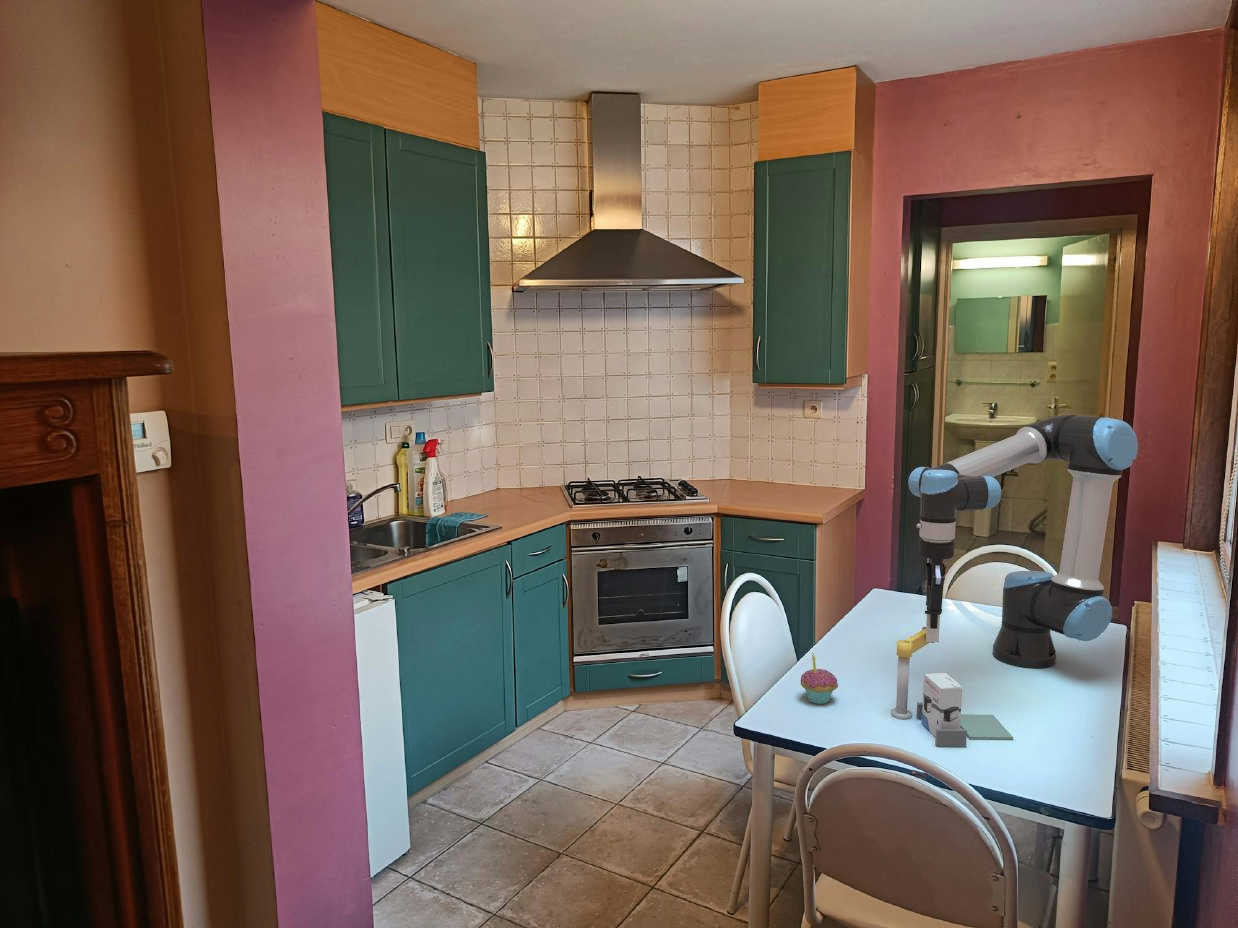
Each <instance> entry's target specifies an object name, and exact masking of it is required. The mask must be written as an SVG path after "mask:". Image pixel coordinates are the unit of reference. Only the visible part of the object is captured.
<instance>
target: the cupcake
mask: <svg viewBox="0 0 1238 928" xmlns="http://www.w3.org/2000/svg"><path fill="white" fill-rule="evenodd" d="M811 659H812V667H813V668H812V669H809V670H807V671H804V673H802V674H801V677H800V686H801V687H802V688H803V689H804V691H805V692H806V696H807V700H808V702H811V703H813V704H816V705H817V704H818V705H823V704H828V703H829V702H830V699H831V696H832V695H833V694H832V693H833V691H836V689H838V687H839V684H838V679H837V676H835V675H834V674H833V673H832V672H830V671H829V670H827V669H822V668H817V663H816V655H815V654H814V652H812V655H811Z"/></svg>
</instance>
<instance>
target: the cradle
mask: <svg viewBox="0 0 1238 928" xmlns="http://www.w3.org/2000/svg"><path fill="white" fill-rule="evenodd" d="M897 658H898V659H897V676H896V677H897V678H896V679H897V680H896V681H897V682H896V699H895V701H896V703H895V705H896V706H895V707H894V708H892V709H891V710H890V715H891V716H892V718H895V719H897V720H910V719H912V717H913V716H912V715H913V713H912V711H911V710H910V709H908V705H909V704H908V702H909V682H910V681H909V680H910V661H911V660H910V658H911V657H909V658H903V657H899V656H897ZM922 709H923V702H919V701H918V702H916V714H915V715H916V716H915V717H916V719H917V720H922ZM934 738H935V739H934V741H935V742H934V745H935V746H936V748H967V738H968V737H967V731H966V729H961V728H960V729H936V737H934Z"/></svg>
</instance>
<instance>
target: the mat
mask: <svg viewBox="0 0 1238 928" xmlns="http://www.w3.org/2000/svg"><path fill="white" fill-rule="evenodd" d="M960 729H966V731H967V738H968V739H969V740H971V741H972V740H975V741H977V740H981V741H983V740H984V741H985V740H986V741H988V740H989V741H990V740H991V741H992V740H993V741H1014V736H1013V735H1012V734H1011V733H1010V731H1008V729H1006V728H1005V726H1004V725H1003V724H1002V723H1001V722H1000V721H999V720H998V718H997V717H995V715H994V714H969V713H968V714H965V713H963V714H962V713H961V724H960Z"/></svg>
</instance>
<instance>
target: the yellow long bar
mask: <svg viewBox="0 0 1238 928" xmlns="http://www.w3.org/2000/svg"><path fill="white" fill-rule="evenodd" d="M930 643H932V644H934V643H935V642H928V641H926V626H923V627H922V628H921V630H920V631H918V632H916V633H915V634H913V635H911V636H908V637H907V638H906V639H900V640H897V641H896V656H897V657H898V656H899V657H903V658H909V657H910V658H911V657H912V655H913V654H914V653H915V652H917V651H918V650H920V649H922V648H924V647H925V646H927V645H929V644H930Z"/></svg>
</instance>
